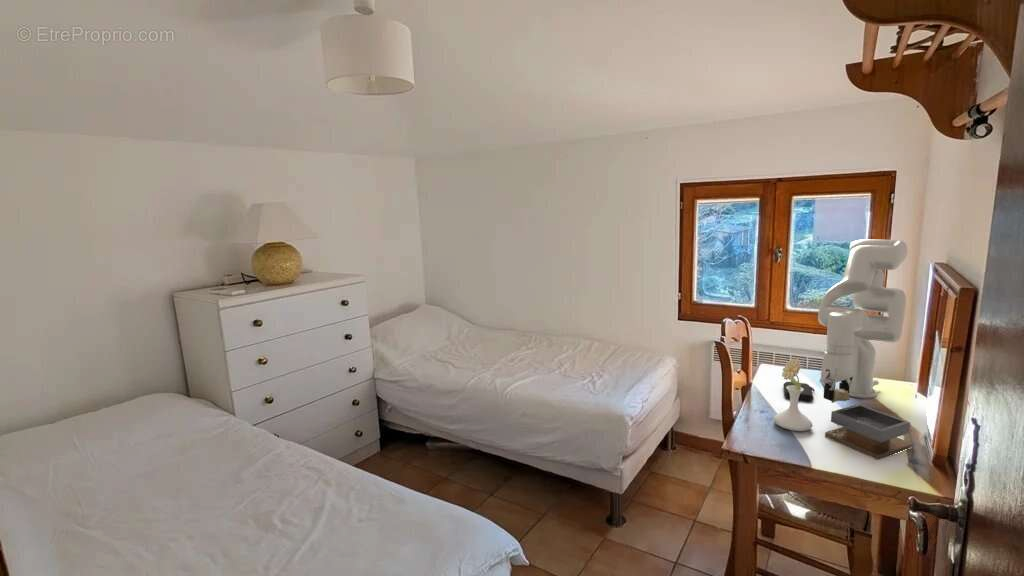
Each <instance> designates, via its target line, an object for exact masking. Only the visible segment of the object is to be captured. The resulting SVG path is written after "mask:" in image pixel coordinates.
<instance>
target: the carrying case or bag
mask: <svg viewBox="0 0 1024 576" xmlns="http://www.w3.org/2000/svg"><path fill="white" fill-rule="evenodd" d="M800 383H801V388H803V389H804V390H803V391H802V392H801V393H800V395H799V399H798V401H801V402H811V401H813V400H814V393H815V388H814V387H812V386H811V385H809V384H808V383H804V382H800ZM787 386H796V385H794V384H793V383H792V382H791V381H785V382H784V383H783V395H784V397H785V398H786V399H789V400H790V394H789V391H788V389H787V388H786V387H787ZM813 392H814V393H813Z"/></svg>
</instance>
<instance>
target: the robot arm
mask: <svg viewBox="0 0 1024 576" xmlns="http://www.w3.org/2000/svg"><path fill="white" fill-rule="evenodd" d="M907 255H908V246H907V243H906V242H905V241H903V240H900V239H858V240H854V241H852V242H851V243H850V245H849V255H848V259H847V263H846V266H845V270H844V274H843V278H842V280H841V281H839V282H838V283H835V285H833V286H832V287H830V288H829V289H828V290H827V291H825V293H824V295H823V296H822V299H821V302H820V305H819V308H818V313H817V320H818V321H817V322H818V323H819V324H820V325H822V326H824V327H827V329H826V331H827V332H826V344H825V346H826V347H825V352H824V353H823V354H824V355H823V358H822V361H821V370H820V379H819V383H820V384H821V386H822V388H823V399H825V400H828V401H830V402H832V401H834V390H833V388H834V385H835V383H836V384H837V383H839V385H837V387H836V389H844V390H845V391H848V393H849V394H850V395H849V397H852V398H859V399H872V398H876V397H877V395H878V392H877V390H875V389H874V387H875V386H879V383H880V382H879V380H877V379H876V380H874V372H875V361H876V349H875V347H874V345H873V344H872V342H871V341H876V342H883V343H891V344H893V343H897V342H899V341H900V339H901V336H902V334H903V328H904V319H905V312H906V306H907V304H906V303H907V296H906V294H905V292H904V291H903V290H902V289H899V288H896V287H884V286H883V284H884V277H885V274H884V271H885V270H886V271H893V270H894V271H895V270H896V269H899V267H900V266H901V264H902V263H904V261H905V260H906V258H907ZM883 270H884V271H883ZM850 295H853V296H852V304H853V307H847V306H838V305H833V304H834V303H835V302H836V301H837V300H838V299H841V298H843V297H846V296H850ZM867 312H876V313H884V314H887V315H888V316H885V315H878V314H877V315H876V314H870V313H869V314H868V313H867ZM829 378H830V379H832V381H831V380H829ZM828 382H831V385H829V384H828ZM835 386H836V385H835Z"/></svg>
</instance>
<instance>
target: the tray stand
mask: <svg viewBox="0 0 1024 576" xmlns="http://www.w3.org/2000/svg"><path fill="white" fill-rule="evenodd" d="M830 422H831V423H832V424H834V425H835V424H836V425H838V426H840V427H837V428H835V429H832V430H828V431H825V433H824V434H825V435H824V437H825V438H828V439H830V440H832V441H834V442H837V443H839V444H841V445H843V446H845V447H848V448H849V449H852V450H855V451H857V452H859V453H862V454H863V455H865V456H868V457H870V458H873V459H875V460H876V461H879V460H883V459H884V458H887V457H890V455H891V456H894V455H896V454H895V453H897V454H899V453H898V452H900V451H903V450H905V449H908V448H910V447H912V446H914V443H913V442H910V441H907V440H905V439H902V438H900V437H901V436H905V435H908V434H910V429H911V422H910V421H908V420H905V419H902V418H899V417H897V416H894V415H890V414H887V413H885V412H882V411H880V410H877V409H874V408H871V407H868V406H865V405H863V404H854V405H851V406H847V407H842V408H840V409H836V410H832V411H831V414H830ZM903 452H904V451H903ZM900 453H901V452H900ZM893 454H894V455H893Z"/></svg>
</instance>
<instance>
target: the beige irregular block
mask: <svg viewBox="0 0 1024 576" xmlns="http://www.w3.org/2000/svg"><path fill="white" fill-rule="evenodd" d="M829 380H831V381H832V379H830V378H829ZM828 384H829V385H831V382H828ZM836 384H837V382H836V383H835V385H834V388H833V390H834V401H830V403H831V404H832V403H836V402H846V401H850V400H851V396H849V395H850V394H849V393H848V391H845V390H844V389H837V388H836V386H837V385H836Z"/></svg>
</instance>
